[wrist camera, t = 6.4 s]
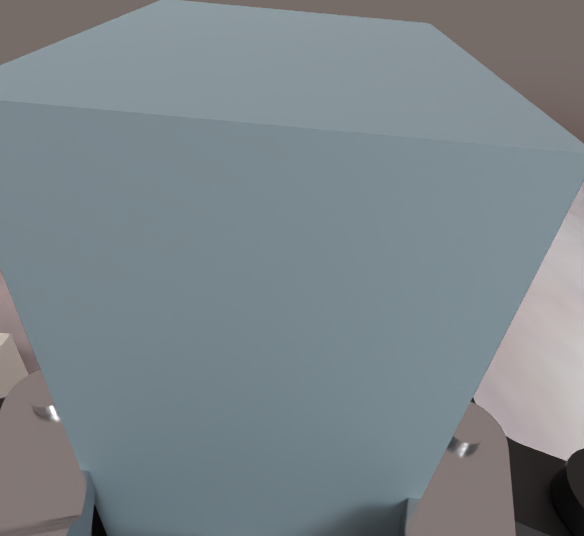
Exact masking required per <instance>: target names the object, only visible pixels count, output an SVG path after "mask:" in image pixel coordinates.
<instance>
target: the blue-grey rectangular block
mask: <svg viewBox="0 0 584 536" xmlns="http://www.w3.org/2000/svg"><path fill="white" fill-rule="evenodd" d="M583 181H584V144H583V143H582V142H581V141H580V140H578V139H577V138H576V137H574V136H573V135H572V134H570V133H569V132H568V131H567V130H565V129H564V128H563V127H561V126H560V125H559V124H558V123H556V122H555V121H554V120H553V119H551V118H550V117H549V116H547V115H546V114H545V113H543V112H542V111H541V110H540V109H539V108H537V107H536V106H535V105H533V104H532V103H531V102H530V101H528V100H527V99H526V98H524V97H523V96H522V95H521V94H519V93H518V92H517V91H515V90H514V89H513V88H512V87H510V86H509V85H508V84H506V83H505V82H504V81H503V80H501V79H500V78H499V77H497V76H496V75H495V74H494V73H492V72H491V71H490V70H489V69H487V68H486V67H485V66H483V65H482V64H481V63H480V62H478V61H477V60H476V59H475V58H473V57H472V56H471V55H469V54H468V53H467V52H465V51H464V50H463V49H462V48H460V47H459V46H458V45H457V44H455V43H454V42H453V41H451V40H450V39H449V38H448V37H446V36H445V35H444V34H442V33H441V32H440V31H439V30H437V29H436V28H435V27H433V26H432V25H431V24H429V23H419V22H407V21H397V20H386V19H375V18H365V17H354V16H343V15H331V14H322V13H311V12H300V11H289V10H278V9H267V8H256V7H246V6H235V5H224V4H213V3H202V2H192V1H180V0H160V1H158V2H155V3H153V4H150V5H148V6H146V7H143V8H140V9H138V10H135V11H133V12H131V13H128V14H126V15H123V16H121V17H118V18H116V19H114V20H111V21H108V22H106V23H104V24H101V25H99V26H96V27H94V28H91V29H89V30H86V31H84V32H81V33H79V34H76V35H74V36H71V37H69V38H67V39H64V40H62V41H59V42H57V43H55V44H52V45H49V46H47V47H44V48H42V49H39V50H37V51H35V52H32V53H30V54H27V55H25V56H23V57H20V58H17V59H15V60H12V61H10V62H7V63H5V64H3V65H0V269H1V272H2V274H3V277H4V279H5V282H6V284H7V287H8V289H9V292H10V294H11V297H12V299H13V302H14V304H15V307H16V309H17V312H18V314H19V317H20V319H21V322H22V324H23V327H24V329H25V332H26V334H27V337H28V339H29V342H30V344H31V347H32V349H33V352H34V354H35V356H36V359H37V361H38V364H39V366H40V369H41V371H42V374H43V376H44V379H45V381H46V384H47V386H48V389H49V391H50V394H51V396H52V399H53V401H54V404H55V406H56V409H57V411H58V414H59V416H60V419H61V421H62V424H63V426H64V429H65V431H66V434H67V436H68V439H69V441H70V444H71V446H72V449H73V451H74V454H75V456H76V459H77V461H78V464H79V466H80V469H81V470H86V471H89V473H90V475H91V478H92V480H93V483H94V486H95V488H96V495H95V502H94V503H95V506H96V508H97V511H98V513H99V516H100V518H101V521H102V523H103V526H104V528H105V531H106V533H107V536H398V530H399V521H400V515H401V513H402V511H403V508H404V506H405V504H406V502H407V500H408V498H418V499H421V497H422V495H423V493H424V491H425V489H426V488H427V486H428V484H429V482H430V480H431V478H432V476H433V474H434V472H435V470H436V468H437V466H438V464H439V462H440V460H441V458H442V456H443V454H444V452H445V450H446V448H447V446H448V445H449V443H450V441H451V439H452V437H453V435H454V433H455V431H456V429H457V427H458V425H459V423H460V421H461V419H462V417H463V415H464V413H465V411H466V409H467V407H468V405H469V404H470V402H471V400H472V398H473V396H474V394H475V392H476V390H477V388H478V386H479V384H480V382H481V380H482V378H483V376H484V374H485V372H486V370H487V368H488V366H489V364H490V363H491V361H492V359H493V357H494V355H495V353H496V351H497V349H498V347H499V345H500V343H501V341H502V339H503V337H504V335H505V333H506V331H507V329H508V327H509V325H510V323H511V321H512V320H513V318H514V316H515V314H516V312H517V310H518V308H519V306H520V304H521V302H522V300H523V298H524V296H525V294H526V292H527V290H528V288H529V286H530V284H531V282H532V280H533V279H534V277H535V275H536V273H537V271H538V269H539V267H540V265H541V263H542V261H543V259H544V257H545V255H546V253H547V251H548V249H549V247H550V245H551V243H552V241H553V239H554V238H555V236H556V234H557V232H558V230H559V228H560V226H561V224H562V222H563V220H564V218H565V216H566V214H567V212H568V210H569V208H570V206H571V204H572V202H573V200H574V198H575V196H576V195H577V193H578V191H579V189H580V187H581V185H582V183H583Z"/></svg>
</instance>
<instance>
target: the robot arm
mask: <svg viewBox="0 0 584 536" xmlns="http://www.w3.org/2000/svg"><path fill="white" fill-rule="evenodd" d="M95 495H96V488H95V486H94V483H93V480H92V478H91V475H90V473H89V471H86V470H81V469H80V466H79V464H78V461H77V459H76V456H75V454H74V451H73V449H72V446H71V444H70V441H69V439H68V436H67V434H66V431H65V429H64V426H63V424H62V421H61V419H60V416H59V414H58V411H57V409H56V406H55V404H54V401H53V399H52V396H51V394H50V391H49V389H48V386H47V384H46V381H45V379H44V376H43V374H42V371H41V369H40V370H37V371H35V372H33V373H31V374H29V375H28V376H26V377H25V378H23V379H22V380H21V381H20V382H18V383H17V384H16V385H15V386H14V387H13V388H12V389H11V390H10V392H9V393H8V395H7V396H6V397H3V398H0V536H107V533H106V531H105V528H104V526H103V523H102V521H101V518H100V516H99V513H98V511H97V508H96V506H95V503H94V502H95ZM398 536H584V449H581V450H578V451H576V452H575V453H574V454H572V455H571V457H570V458H569V459H568V460H567V461H565V460H562V459H559V458H557V457H554V456H551V455H548V454H546V453H543V452H540V451H538V450H535V449H532V448H530V447H527V446H524V445H522V444H520V443H517V442H515V441H513V440H511V439H510V438H508V437H506V436H505V434H504V432H503V430H502V428H501V426H500V425H499V424H498V422H497V421H496V420H495V419H494V418H493V417H492V416H491V415H490V414H489V413H488V412H487V411H485V410H484V409H483V408H481V407H480V406H478V405H477V404H476V403H475V401H474V399H473V398H472V400H471V402H470V404H469V405H468V407H467V409H466V411H465V413H464V415H463V417H462V419H461V421H460V423H459V425H458V427H457V429H456V431H455V433H454V435H453V437H452V439H451V441H450V443H449V445H448V446H447V448H446V450H445V452H444V454H443V456H442V458H441V460H440V462H439V464H438V466H437V468H436V470H435V472H434V474H433V476H432V478H431V480H430V482H429V484H428V486H427V488H426V489H425V491H424V493H423V495H422V497H421V499H418V498H408V500H407V502H406V504H405V506H404V508H403V511H402V513H401V515H400V521H399V530H398Z"/></svg>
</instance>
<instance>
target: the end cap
mask: <svg viewBox="0 0 584 536" xmlns="http://www.w3.org/2000/svg"><path fill="white" fill-rule="evenodd" d="M26 376H28V372H27V370H26V368H25V366H24V363H23V361H22V359H21V356H20V354H19V352H18V349H17V347H16V345H15V342H14V340H13V338H12V335H11V334H9V333H0V398H3V397H6V396H7V395H8V393H9V392H10V390H11V389H12V388H13V387H14V386H15V385H16V384H17V383H18V382H20V381H21V380H22V379H23V378H25V377H26Z"/></svg>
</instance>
